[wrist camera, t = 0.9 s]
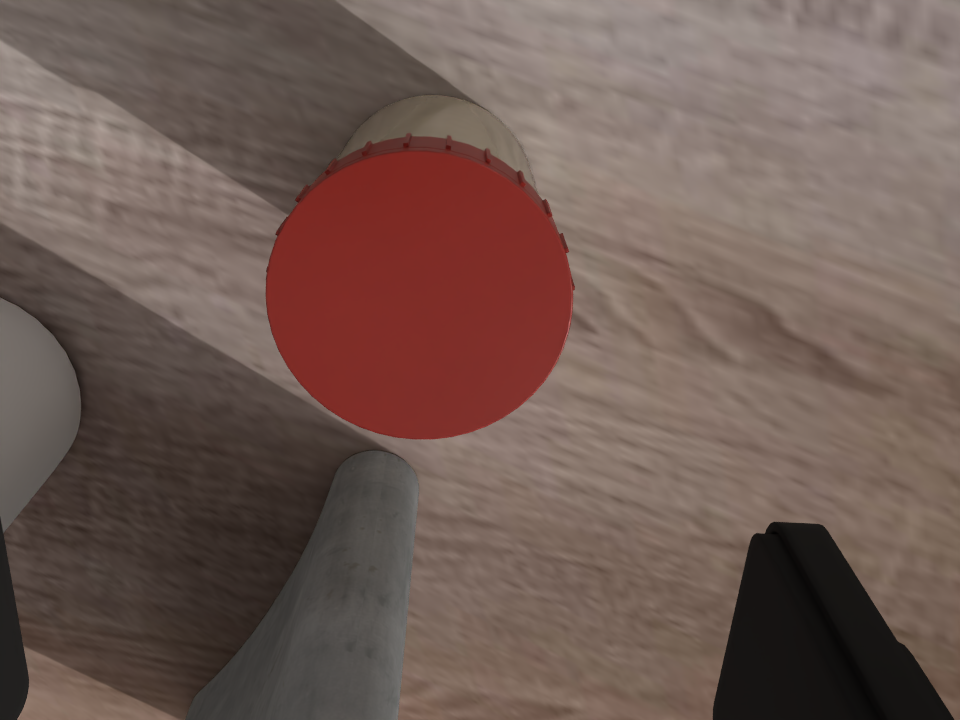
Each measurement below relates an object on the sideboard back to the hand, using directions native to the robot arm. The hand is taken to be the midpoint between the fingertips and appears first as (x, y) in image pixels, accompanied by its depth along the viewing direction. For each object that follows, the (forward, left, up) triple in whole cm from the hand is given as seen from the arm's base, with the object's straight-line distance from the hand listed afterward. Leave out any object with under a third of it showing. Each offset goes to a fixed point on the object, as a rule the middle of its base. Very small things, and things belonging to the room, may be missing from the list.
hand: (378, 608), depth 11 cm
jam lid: (0, 0, -11) cm, 11 cm away
